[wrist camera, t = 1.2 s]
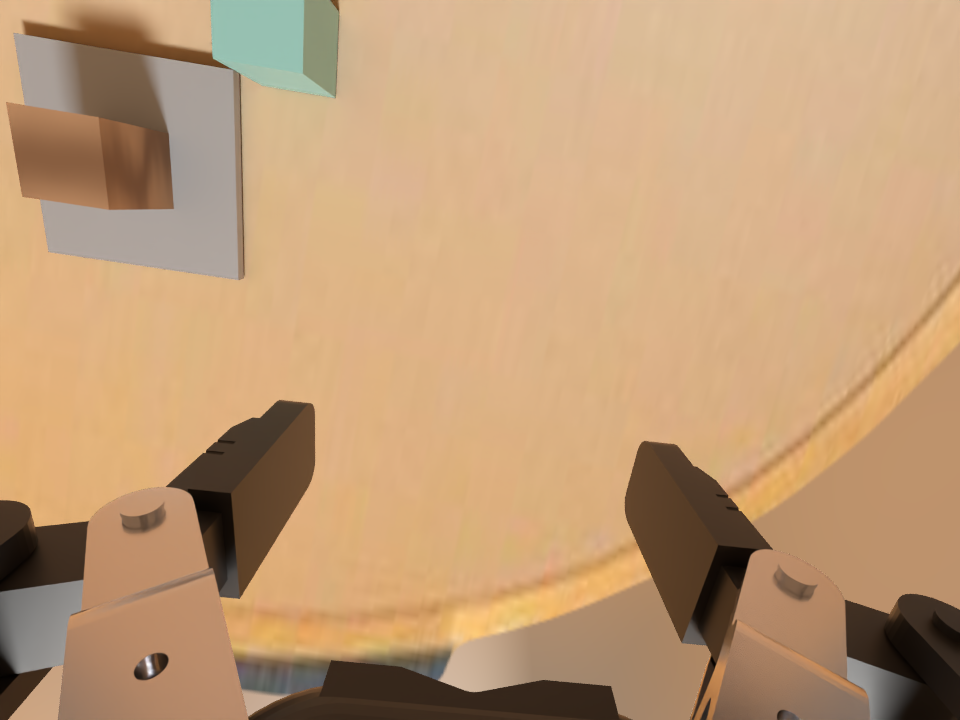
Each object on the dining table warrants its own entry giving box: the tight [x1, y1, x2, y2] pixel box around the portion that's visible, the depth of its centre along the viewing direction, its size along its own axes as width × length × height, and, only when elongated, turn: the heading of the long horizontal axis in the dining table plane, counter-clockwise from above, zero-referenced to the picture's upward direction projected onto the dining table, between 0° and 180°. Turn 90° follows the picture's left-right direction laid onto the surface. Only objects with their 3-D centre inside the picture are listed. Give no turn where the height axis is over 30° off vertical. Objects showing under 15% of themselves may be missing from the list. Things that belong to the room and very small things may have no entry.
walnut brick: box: [6, 102, 174, 210], centre depth 29 cm, size 5×5×6 cm
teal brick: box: [210, 0, 339, 98], centre depth 27 cm, size 5×5×6 cm
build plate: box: [14, 33, 244, 280], centre depth 32 cm, size 14×14×1 cm
